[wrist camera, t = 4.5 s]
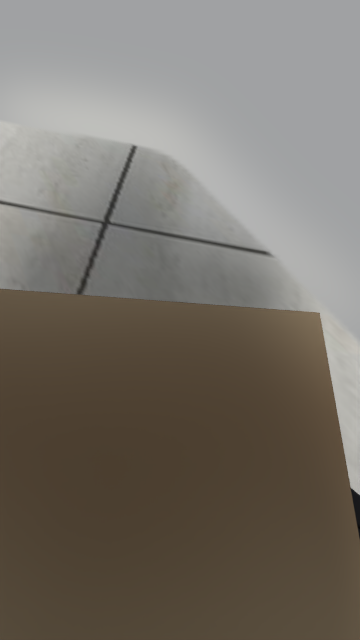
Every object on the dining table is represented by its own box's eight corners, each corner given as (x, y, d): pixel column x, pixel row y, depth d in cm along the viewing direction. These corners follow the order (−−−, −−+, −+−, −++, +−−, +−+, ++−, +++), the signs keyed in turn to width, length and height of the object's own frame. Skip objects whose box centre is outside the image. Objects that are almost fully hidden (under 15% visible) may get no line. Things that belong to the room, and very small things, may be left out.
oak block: (193, 493, 14) (407, 809, 2) (103, 491, 13) (-189, 849, 2) (194, 401, 15) (319, 313, 4) (115, 397, 15) (-1, 288, 4)
